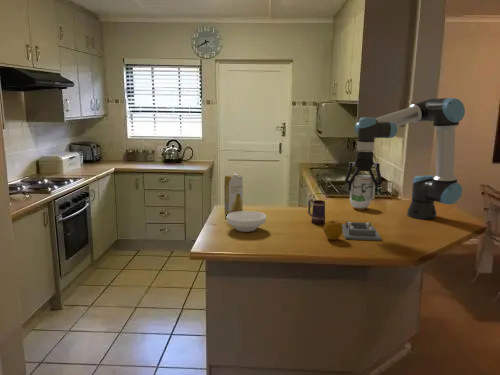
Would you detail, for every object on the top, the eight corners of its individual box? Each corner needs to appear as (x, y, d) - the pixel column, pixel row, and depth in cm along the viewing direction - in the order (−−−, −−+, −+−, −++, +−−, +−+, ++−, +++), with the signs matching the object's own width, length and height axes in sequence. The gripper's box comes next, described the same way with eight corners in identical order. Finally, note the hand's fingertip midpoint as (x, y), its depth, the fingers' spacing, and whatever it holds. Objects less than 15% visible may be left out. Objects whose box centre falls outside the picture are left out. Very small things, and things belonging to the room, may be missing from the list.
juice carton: (231, 218, 218) (231, 175, 213) (222, 215, 223) (222, 173, 219) (244, 216, 224) (244, 173, 219) (235, 213, 229) (235, 171, 225)
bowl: (220, 226, 203) (220, 213, 202) (256, 222, 211) (256, 209, 209) (234, 237, 185) (234, 222, 184) (272, 233, 193) (273, 218, 192)
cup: (374, 209, 241) (375, 193, 239) (360, 212, 234) (361, 196, 232) (358, 205, 251) (359, 190, 249) (344, 207, 244) (345, 192, 242)
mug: (327, 223, 211) (328, 200, 208) (319, 225, 206) (320, 202, 204) (312, 219, 218) (313, 197, 216) (304, 221, 213) (304, 199, 211)
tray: (372, 228, 202) (373, 220, 201) (381, 240, 183) (381, 231, 182) (340, 226, 204) (340, 218, 203) (345, 239, 184) (345, 230, 184)
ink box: (358, 202, 187) (360, 177, 185) (351, 199, 191) (352, 175, 189) (372, 200, 191) (374, 175, 189) (364, 198, 195) (366, 174, 193)
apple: (329, 243, 178) (330, 224, 177) (319, 237, 186) (320, 219, 184) (345, 240, 182) (346, 222, 180) (334, 235, 190) (335, 217, 188)
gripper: (387, 150, 189) (384, 197, 193) (340, 149, 192) (337, 195, 196) (391, 152, 182) (387, 200, 186) (341, 151, 184) (339, 198, 188)
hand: (361, 197), depth 191 cm, fingers closed on ink box, 9 cm apart
